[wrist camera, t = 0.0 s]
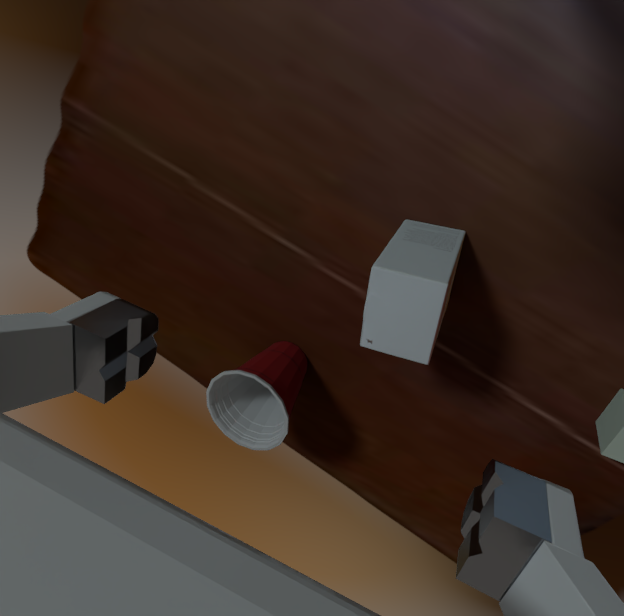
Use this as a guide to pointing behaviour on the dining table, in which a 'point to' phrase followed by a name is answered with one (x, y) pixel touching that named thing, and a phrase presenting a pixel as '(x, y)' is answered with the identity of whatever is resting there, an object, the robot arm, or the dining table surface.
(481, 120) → the dining table surface
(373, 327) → the small box
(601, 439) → the sage block
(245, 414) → the plastic cup
